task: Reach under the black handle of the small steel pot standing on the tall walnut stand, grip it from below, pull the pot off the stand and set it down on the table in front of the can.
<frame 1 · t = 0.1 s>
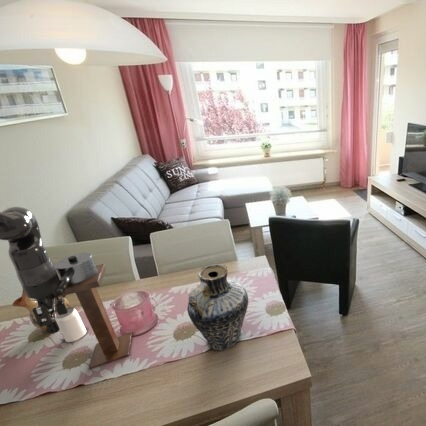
hand: (59, 322, 88), 22 cm above the table, tool pointing down, fingers open, 8 cm apart
pot: (80, 276, 91), point 32 cm above the table, touching stand
stand: (113, 352, 103), on the table
ceramic vessel: (58, 325, 117), on the table
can: (77, 337, 111), on the table
blue patterned vase: (226, 341, 106), on the table
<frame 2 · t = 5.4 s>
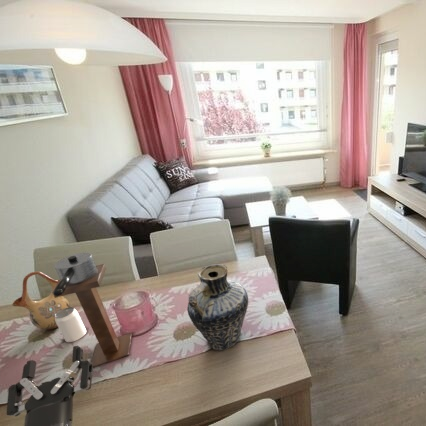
hand: (55, 353, 69), 28 cm above the table, tool pointing upward, fingers open, 8 cm apart
nothing on the table moved.
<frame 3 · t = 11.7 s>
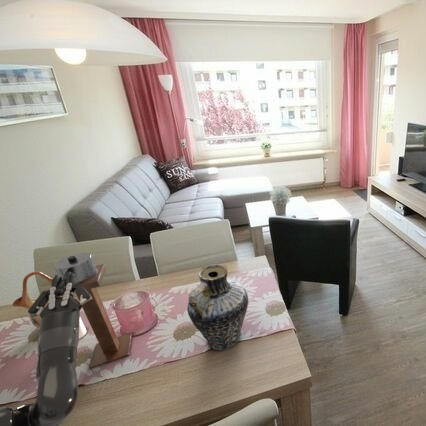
hand: (64, 274, 81), 38 cm above the table, tool pointing upward, fingers closed on pot
pot: (80, 276, 91), point 32 cm above the table, touching gripper, stand
everything else where it was.
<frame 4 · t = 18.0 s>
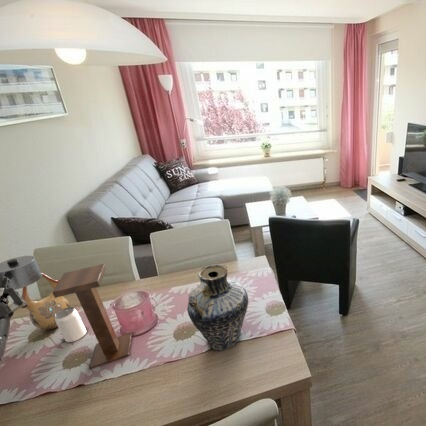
pot: (22, 281, 85), point 35 cm above the table, touching gripper
everything else where it was.
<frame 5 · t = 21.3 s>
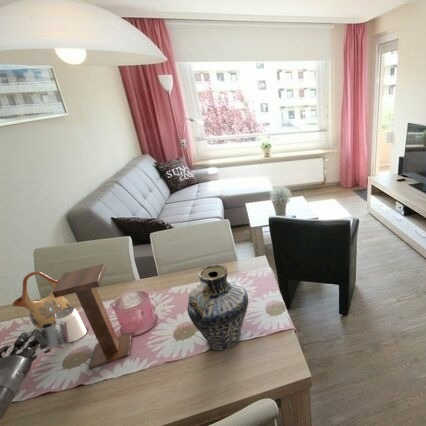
hand: (31, 332, 84), 22 cm above the table, tool horizontal, fingers closed on pot
pot: (50, 346, 91), point 12 cm above the table, tilted 30°, touching gripper
everything else where it was.
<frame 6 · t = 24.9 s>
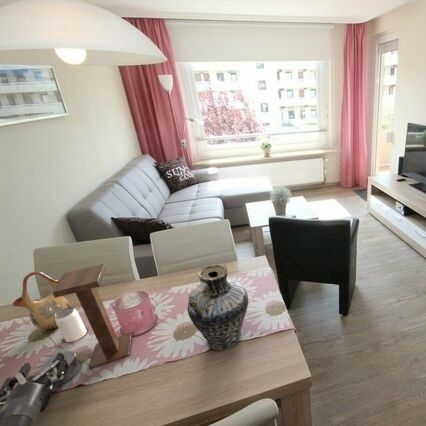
hand: (45, 359, 87), 12 cm above the table, tool horizontal, fingers open, 7 cm apart
pot: (64, 375, 95), on the table
everything else where it was.
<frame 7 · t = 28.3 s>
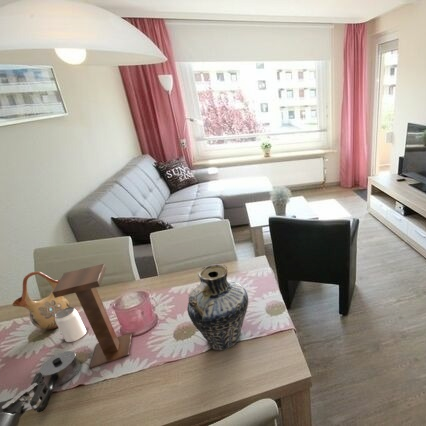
hand: (19, 381, 75), 17 cm above the table, tool horizontal, fingers open, 8 cm apart
nothing on the table moved.
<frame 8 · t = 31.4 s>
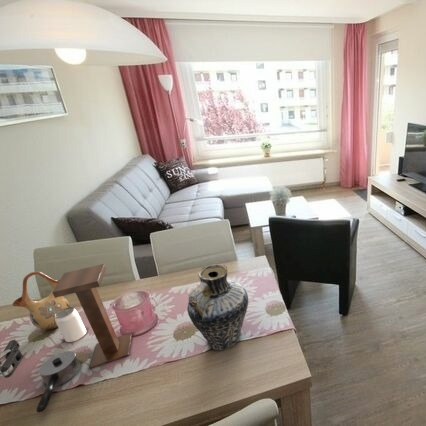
nothing on the table moved.
at the end: pot inside the target area (2.7 cm from its centre), on the table; pot tilted 0°; pot 18.7 cm from the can (horizontally) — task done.
